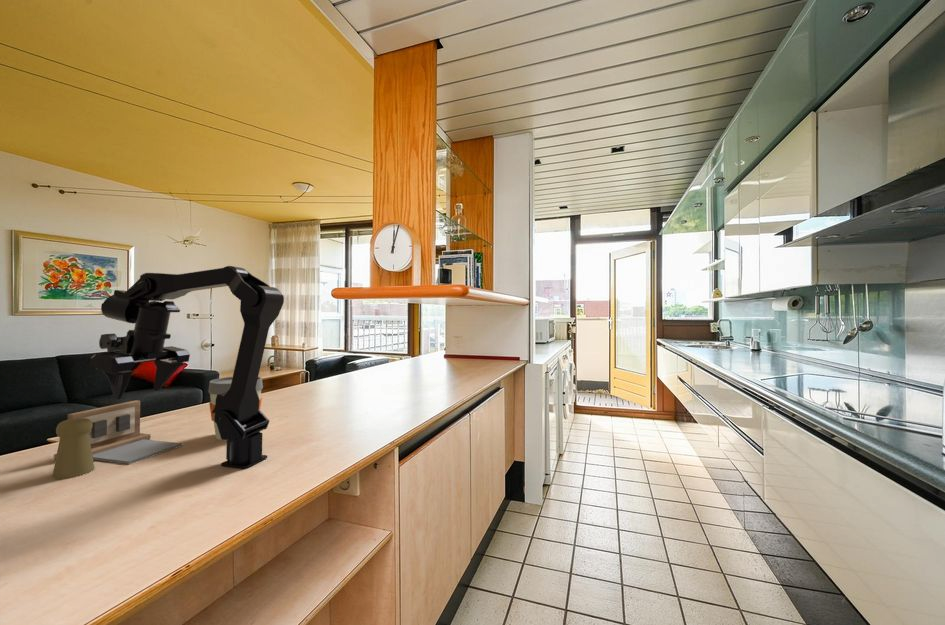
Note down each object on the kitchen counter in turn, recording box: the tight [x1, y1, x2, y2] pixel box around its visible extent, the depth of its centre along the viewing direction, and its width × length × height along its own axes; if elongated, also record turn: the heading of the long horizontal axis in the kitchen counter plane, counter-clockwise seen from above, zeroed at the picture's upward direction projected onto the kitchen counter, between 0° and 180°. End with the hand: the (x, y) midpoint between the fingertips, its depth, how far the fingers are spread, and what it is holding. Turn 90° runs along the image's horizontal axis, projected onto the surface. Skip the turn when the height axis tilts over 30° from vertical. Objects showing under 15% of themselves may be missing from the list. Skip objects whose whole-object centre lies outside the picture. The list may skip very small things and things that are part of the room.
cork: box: [51, 418, 95, 480], centre depth 78 cm, size 6×6×11 cm
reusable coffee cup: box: [207, 376, 264, 442], centre depth 102 cm, size 13×12×15 cm
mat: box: [92, 439, 183, 465], centre depth 89 cm, size 12×12×1 cm
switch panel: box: [53, 399, 152, 460], centre depth 91 cm, size 6×16×10 cm, turn 168°
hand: (137, 394), depth 87 cm, fingers open, 9 cm apart
